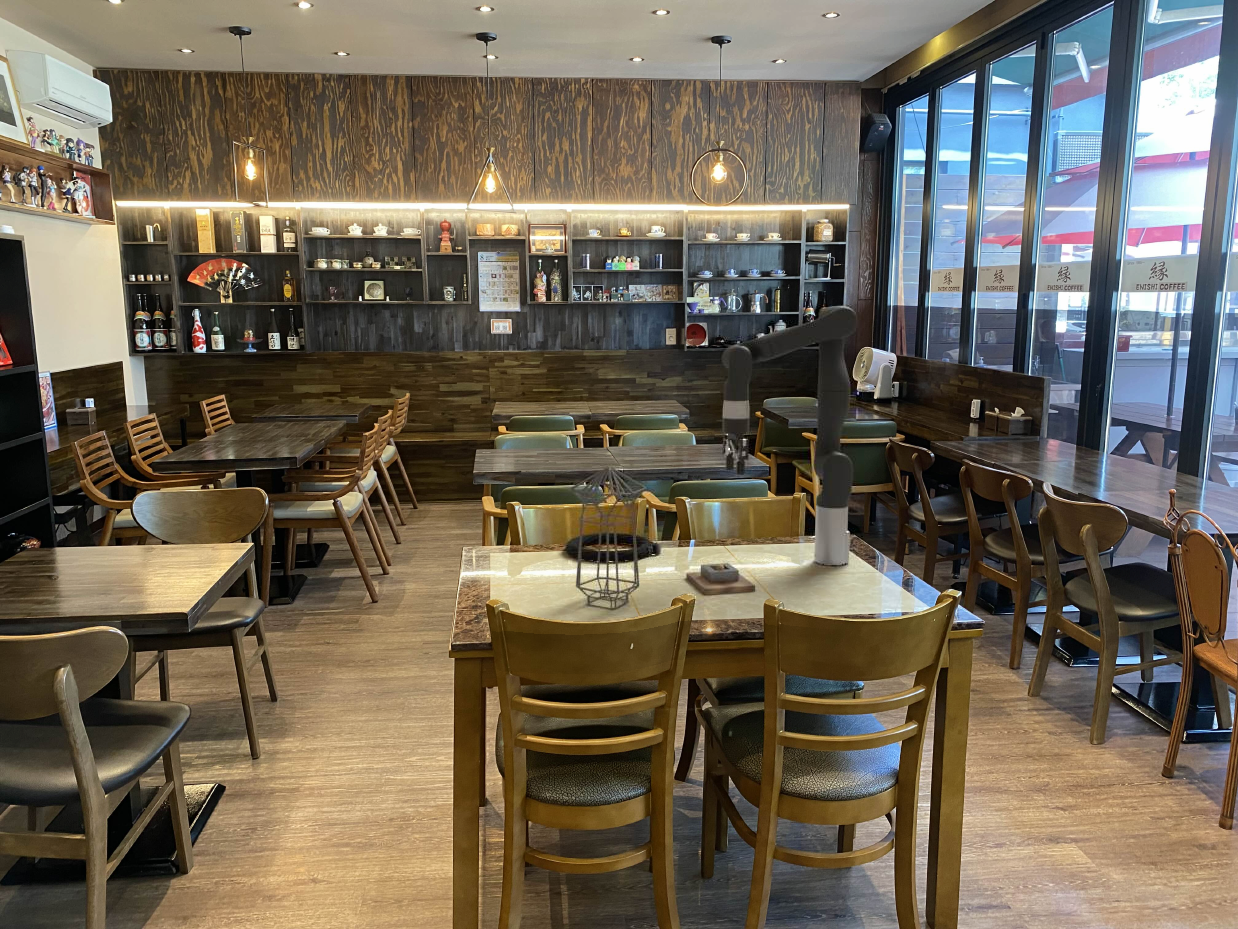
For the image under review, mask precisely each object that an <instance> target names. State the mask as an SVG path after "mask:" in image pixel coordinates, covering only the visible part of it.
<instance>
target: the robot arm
mask: <svg viewBox="0 0 1238 929" xmlns="http://www.w3.org/2000/svg"><path fill="white" fill-rule="evenodd" d="M858 320H859V319H858V316H857V313H856V312H855V311H854V309H852V308H850V307H848V306H845V305H836V306H833V305H832V306H828V307H825V308H824V309H823V310H822V311H821V312H820V314H819V316H818V318H817V319H815V320H812V321H809V322H806V323H803V324H799V325H795V326H791V327H787V328H783V329H779V330H776V331H773V332H770V333H768V334H765V335H764V334H763V335H762V336H760V337H757V338H755V339H751V340H748V341H743V342H740V343H736V344H733V345H730V346H728V347H727V348H725V350H723V353H722V356H721V361H722V364H723V366H724V367H725V368H726V369H728V370H727V380H726V381H725V383H724V387H723V406H722V433H724V434H723V435H722V455H724V457H725V470H726V471H734V468H735V467H734V466H735V465H734V463H735V459H736V475H739V476H741V475H745V470H746V469H745V467H746V464H745V463H746V462H747V461H748V460H749V458H750V457H749V456H750V455H749V449H750V448H749V447H750V446H749V442H750V441H749V439H748V438H744V434H748V433H749V432H750V431H749V430H750V402H749V399H750V397H749V396H750V392H749V391H750V387H749V385H750V381H751V375H752V371H753V364H755V363H759V362H766V361H770V360H772V359H776V358H778V357H781V356H784V355H786V354H789V353H793V352H794V351H798V350H800V349H802V348H805V347H808V346H811V345H815V344H818V352H819V353H818V356H819V357H818V358H819V359H818V382H817V383H818V384H817V418H816V419H817V420H816V422H817V424H816V429H817V430H816V442H815V450H814V455H813V456H814V457H813V471H814V473H815V475H816V476H817V477H818V478H819V479H820V480H821V481H822V482H821V484H822V486H821V490H820V491H821V492H820V493H819V494H817V496H816V501H815V502H816V503H815V527H814V528H815V530H814V555H813V557H814V563H816V562H817V563H816V564H818V563H819V564H818V565H822V564H824V565H823V566H831V565H837V566H842V564H843V565H845V563H846V564H849V563H850V543H851V542H850V540H851V539H850V538H851V533H850V531H849V530H848V520H849V519H848V518H849V517H848V515H849V501H850V499H851V496H852V490H853V488H852V487H853V480H854V479H853V477H854V467H853V462H852V460H851V458H849V456H848V455H846V454H845V453H841V452H842V451H841V436H842V430H843V426H844V424H845V421H846V419H847V417H848V413H849V410H850V407H851V406H850V404H851V380H850V376H849V373H848V369H847V365H846V362H845V356H844V347H845V346H844V344H845V338H848V337H850V336H852V335H853V333H854V332H855V331H856V329H857V327H858V325H859V322H858ZM734 457H735V458H734Z"/></svg>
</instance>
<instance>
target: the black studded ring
mask: <svg viewBox="0 0 1238 929" xmlns="http://www.w3.org/2000/svg"><path fill="white" fill-rule="evenodd" d="M616 538H617V544H620V543H626V544H625V545H627V544H631V545H630V546H633V545H634V544H633V534H631V533H630V534H629V533H623V532H622V533H617V532H616ZM579 539H580V535H578V536H576V537H574V538H571V539H570V540H568V541H567V543H566V544H565V551H566V553H567V555H569V556H570V555H571V556H570V557H572V558H575V557H577V558H576V559H578V552H579ZM602 544H607V532H601V545H602ZM609 544H615V541H614V532H613V533H612V532H609ZM584 545H586V546H591V545H599V533H596V532H595V533H591V534H582V548H581V559H585V560H584V561H588V560H593V561H598V550H597V549H590V548H583V547H585V546H584ZM636 546H638V547H637V559H638V558H640V559H642V558H641V557H643V558H645V557H651V556H653V555H652V554H655V555H654V556H657V555H658V554H660V555H661V553H662V545H661V543H658V542H654V541H651V540H649V539H648V538H647V537H644V536H641V535H638V534H636ZM656 553H657V554H656ZM617 559H618V561H624V562H626V561H625V560H630V561H634V560H633V559H634V547H633V548H629V549H617ZM638 560H639V559H638ZM593 561H592V562H593ZM600 561H607V550H600ZM609 561H615V550H609Z"/></svg>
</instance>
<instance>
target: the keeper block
mask: <svg viewBox="0 0 1238 929" xmlns="http://www.w3.org/2000/svg"><path fill="white" fill-rule="evenodd" d="M718 564H719V565H717V567H716V570H724V566H723V565H721V563H718ZM685 574H686V575H685V576H686V577H685V578H686V579H687V580H688V581H689V582H690V583H691V584H692V585H693V586H695V587H696V589H698V590H699V591H700V592H701V593H703V594H704V595H718V594H731V593H732V594H733V593H744V592H745V593H747V592H756V585H755V583H753V582H751V581H750V580H749V579H747V578H746V577H745V576H743V575H742V574H740V573H739V581H736V582H723V583H710V582H708V581H707V580H706V579H704V578H703V577H702V576H701V571H696V572H686V573H685Z"/></svg>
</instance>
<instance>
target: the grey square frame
mask: <svg viewBox="0 0 1238 929" xmlns="http://www.w3.org/2000/svg"><path fill="white" fill-rule="evenodd" d="M719 564H721V565H723V566H724V570H716V567H717V565H719ZM700 572H701V576H702V577H703V578H704V579H706V580H707V581H708V582H710V583H723V582H736V581H739V574H740V573H739V572H740V571H739V570H738V569H737V568H736V567H735V566H733V565H732V564H730V563H728V562H724V563H722V562H721V563H710V564H700Z"/></svg>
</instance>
